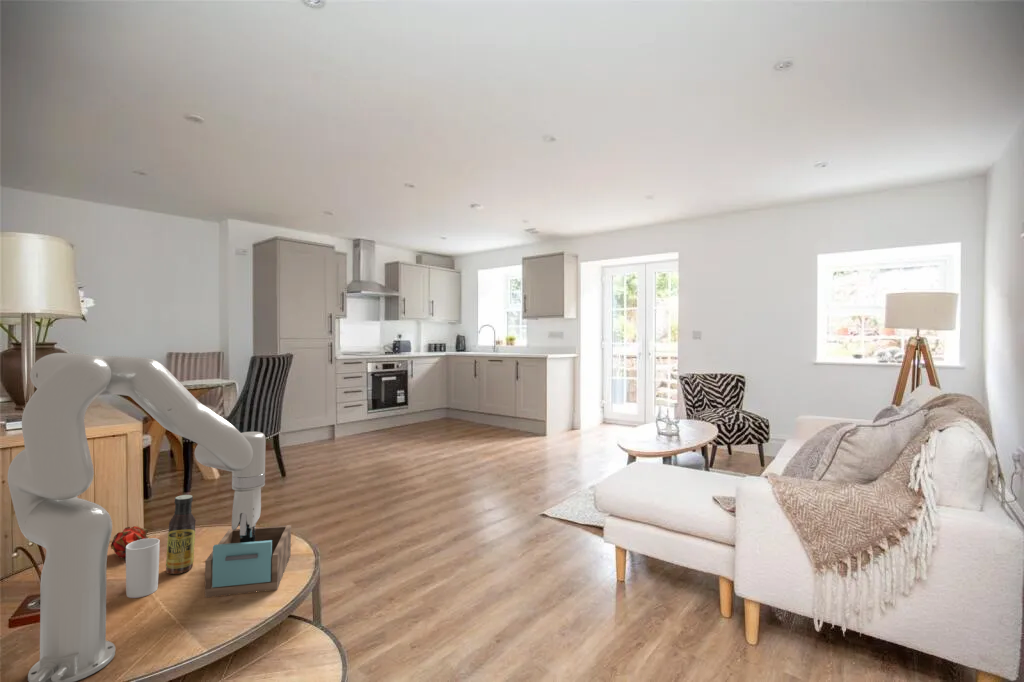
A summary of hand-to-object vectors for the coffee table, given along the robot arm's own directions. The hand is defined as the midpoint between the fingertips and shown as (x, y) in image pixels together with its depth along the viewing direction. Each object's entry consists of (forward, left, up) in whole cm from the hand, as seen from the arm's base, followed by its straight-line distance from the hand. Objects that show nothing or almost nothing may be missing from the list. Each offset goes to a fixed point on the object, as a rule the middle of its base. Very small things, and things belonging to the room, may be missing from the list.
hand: (247, 551), depth 128 cm
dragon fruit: (+25, +36, -8) cm, 44 cm away
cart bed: (+5, 0, -8) cm, 10 cm away
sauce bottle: (+12, +19, -8) cm, 24 cm away
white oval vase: (+3, +24, -8) cm, 26 cm away
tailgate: (-5, 0, -6) cm, 8 cm away
